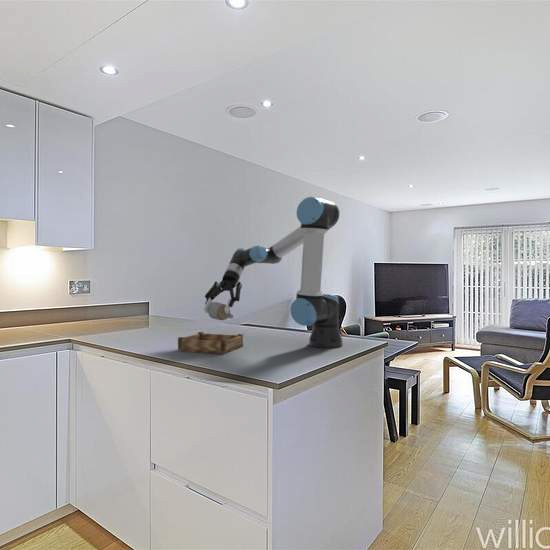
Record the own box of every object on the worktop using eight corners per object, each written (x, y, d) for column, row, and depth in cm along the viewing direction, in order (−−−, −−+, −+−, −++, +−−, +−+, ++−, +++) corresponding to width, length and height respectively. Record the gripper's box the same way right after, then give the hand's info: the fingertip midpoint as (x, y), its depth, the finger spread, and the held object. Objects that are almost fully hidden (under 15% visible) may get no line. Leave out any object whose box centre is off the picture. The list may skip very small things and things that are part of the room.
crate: (243, 346, 177) (243, 334, 177) (224, 354, 160) (224, 340, 160) (200, 343, 185) (200, 331, 185) (178, 350, 168) (178, 337, 168)
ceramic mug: (217, 321, 173) (217, 303, 172) (207, 319, 179) (207, 302, 179) (237, 319, 180) (237, 302, 179) (227, 317, 186) (227, 301, 186)
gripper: (256, 280, 188) (240, 317, 174) (215, 280, 196) (197, 315, 182) (251, 269, 183) (235, 307, 169) (209, 269, 191) (190, 305, 177)
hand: (215, 311), depth 175 cm, fingers closed on ceramic mug, 10 cm apart
